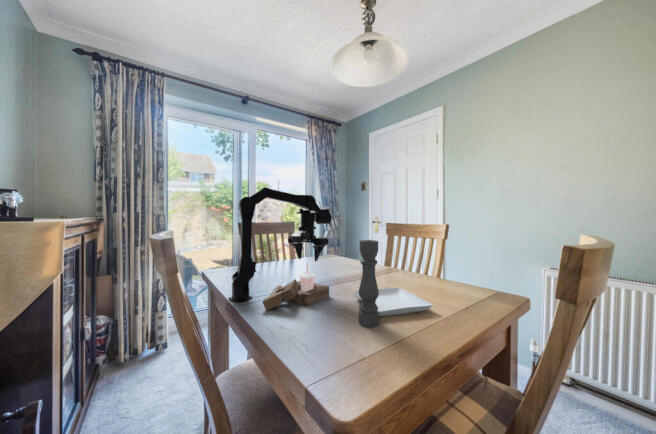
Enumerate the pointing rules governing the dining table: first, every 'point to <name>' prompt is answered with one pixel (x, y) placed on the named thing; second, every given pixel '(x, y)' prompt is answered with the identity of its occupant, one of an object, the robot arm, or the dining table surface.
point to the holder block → (311, 294)
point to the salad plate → (397, 302)
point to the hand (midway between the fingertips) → (307, 260)
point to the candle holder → (368, 285)
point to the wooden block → (281, 295)
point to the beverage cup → (307, 280)
